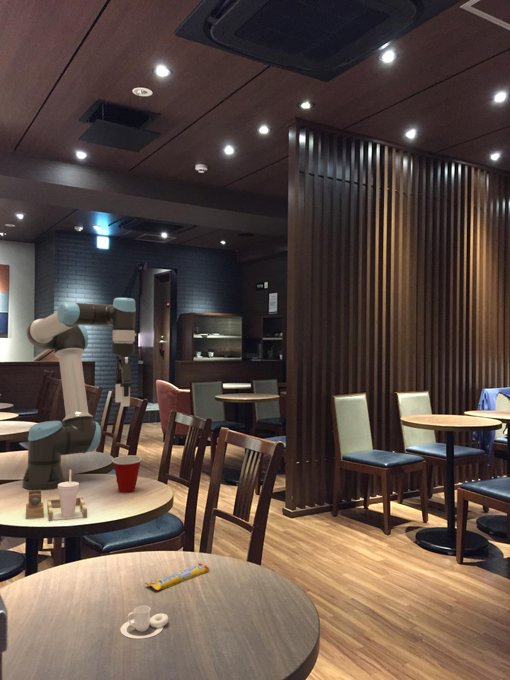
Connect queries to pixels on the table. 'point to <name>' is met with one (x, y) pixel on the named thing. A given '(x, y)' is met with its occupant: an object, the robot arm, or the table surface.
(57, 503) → the bay
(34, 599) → the table surface
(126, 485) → the plastic cup
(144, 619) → the teacup and saucer
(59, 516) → the mat
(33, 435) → the robot arm
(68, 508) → the smoothie
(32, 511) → the winch
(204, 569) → the candy bar
